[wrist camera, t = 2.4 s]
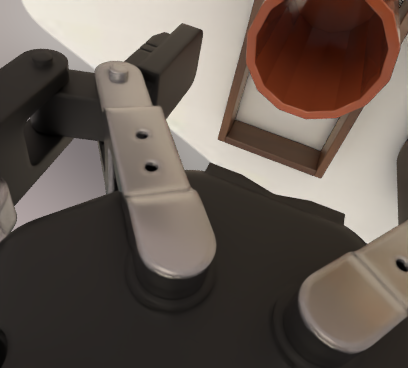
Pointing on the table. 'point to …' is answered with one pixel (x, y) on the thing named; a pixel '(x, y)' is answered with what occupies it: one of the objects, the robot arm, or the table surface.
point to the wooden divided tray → (277, 145)
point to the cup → (323, 53)
